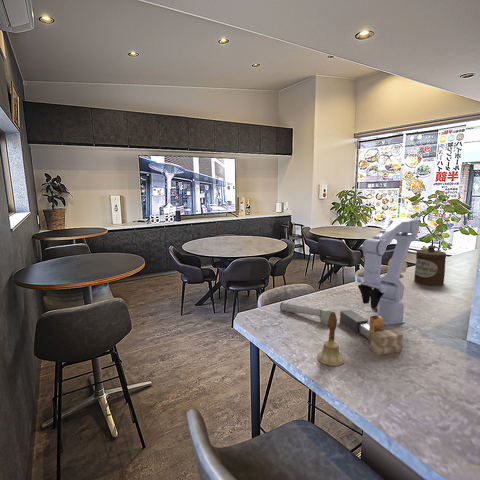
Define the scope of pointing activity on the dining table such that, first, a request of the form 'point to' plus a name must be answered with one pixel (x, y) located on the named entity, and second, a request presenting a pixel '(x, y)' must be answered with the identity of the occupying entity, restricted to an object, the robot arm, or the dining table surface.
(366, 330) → the brown and grey block
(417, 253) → the wooden container
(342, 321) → the sleeve
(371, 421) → the dining table surface
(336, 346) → the hand bell
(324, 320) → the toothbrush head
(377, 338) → the socket block
